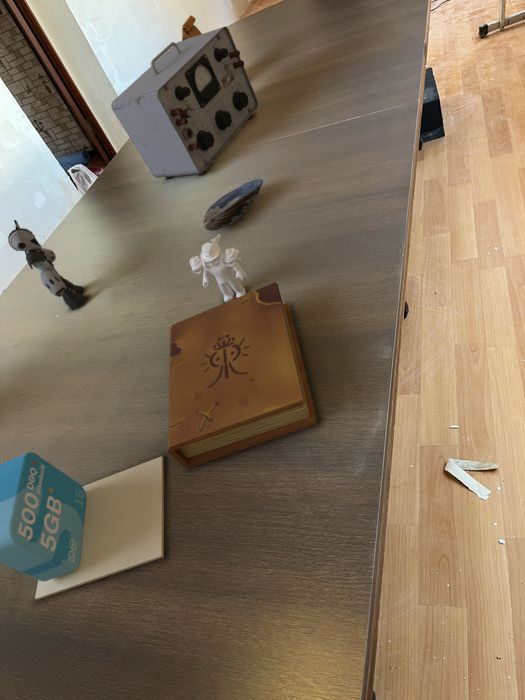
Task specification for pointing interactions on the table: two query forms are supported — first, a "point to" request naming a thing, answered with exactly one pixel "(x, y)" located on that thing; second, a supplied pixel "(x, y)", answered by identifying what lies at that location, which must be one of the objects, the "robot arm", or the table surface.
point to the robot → (46, 267)
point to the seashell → (231, 206)
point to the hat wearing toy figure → (220, 268)
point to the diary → (235, 378)
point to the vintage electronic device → (187, 104)
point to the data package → (40, 518)
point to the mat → (118, 526)
